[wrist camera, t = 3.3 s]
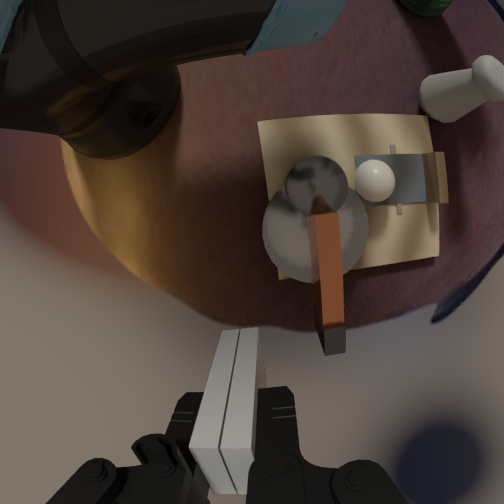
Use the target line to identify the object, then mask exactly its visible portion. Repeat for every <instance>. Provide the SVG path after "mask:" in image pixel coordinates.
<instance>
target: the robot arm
mask: <svg viewBox="0 0 504 504" xmlns="http://www.w3.org/2000/svg"><path fill="white" fill-rule="evenodd" d="M345 2H346V0H0V128H4V129H13V130H23V131H31V132H39V133H46V134H53V135H58V136H59V137H60V138H62V139H63V140H64V141H66V142H67V143H68V144H69V145H70V146H71V147H72V148H73V149H74V150H76V151H77V152H78V153H80V154H82V155H85V156H88V157H91V158H98V159H118V158H122V157H125V156H128V155H131V154H133V153H135V152H137V151H138V150H140V149H142V148H143V147H145V146H146V145H147V144H148V143H150V142H151V141H152V140H153V139H154V138H155V137H156V136H157V135H158V134H159V133H160V131H161V130H162V129H163V128H164V126H165V125H166V123H167V122H168V120H169V118H170V117H171V115H172V113H173V111H174V108H175V106H176V103H177V99H178V95H179V87H180V79H179V72H178V68H177V65H180V64H184V63H188V62H193V61H198V60H204V59H209V58H215V57H222V56H228V55H236V54H242V55H244V56H246V55H252V54H254V53H256V52H257V51H263V50H269V49H276V48H285V47H297V46H304V45H307V44H310V43H313V42H315V41H316V40H318V39H320V38H321V37H322V36H323V35H324V34H325V33H327V32H328V30H329V29H330V27H331V26H332V24H334V22H335V21H336V20H337V18H338V17H339V15H340V13H341V11H342V9H343V7H344V4H345ZM131 449H132V450H133V451H134V453H135V455H136V456H137V458H138V459H139V461H140V462H141V464H142V465H138V466H130V467H116V466H115V465H114V464H113V463H112V462H110V461H109V460H107V459H103V458H94V459H91V460H88V461H87V462H86V463H84V464H83V465H82V466H81V467H80V468H79V469H78V470H77V471H76V472H75V473H74V474H73V475H72V476H71V477H70V479H69V480H68V481H67V482H66V483H65V484H64V485H63V486H62V487H61V488H60V489H59V490H58V491H57V492H56V493H55V495H53V497H52V498H51V499H50V500H49V501H48V502H47V503H46V504H210V501H209V500H208V498H207V496H208V491H209V487H210V489H211V490H212V492H213V494H237V491H238V493H239V494H247V495H246V504H409V503H408V501H407V500H406V499H405V497H404V496H403V495H402V493H401V492H400V491H399V489H398V488H397V486H396V485H395V484H394V482H393V481H392V480H391V478H390V477H389V475H388V474H387V473H386V471H385V470H384V469H383V468H382V467H381V466H380V465H379V464H378V463H376V462H373V461H370V460H355V461H351V462H348V463H346V464H345V465H343V466H341V467H340V468H339V469H336V468H325V467H319V466H315V465H313V464H311V463H309V462H308V461H306V460H305V459H304V458H303V456H302V455H301V452H300V448H299V439H298V429H297V419H296V410H295V402H294V394H293V393H292V392H291V391H290V389H289V388H288V387H287V386H281V387H271V388H266V374H265V368H264V361H263V355H262V348H261V342H260V335H259V329H258V327H253V328H243V329H241V330H239V329H233V330H222V333H221V337H220V340H219V343H218V346H217V350H216V353H215V357H214V360H213V364H212V367H211V370H210V374H209V377H208V381H207V384H206V388H205V391H204V392H187V393H185V394H184V395H183V396H182V397H181V398H180V399H179V400H178V402H177V405H176V407H175V410H174V413H173V415H172V418H171V421H170V423H169V426H168V428H167V431H166V433H165V435H164V434H149V435H146V436H143V437H141V438H140V439H138V440H137V441H135V443H134V444H133V445H132V447H131Z"/></svg>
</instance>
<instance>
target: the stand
mask: <svg viewBox="0 0 504 504" xmlns="http://www.w3.org/2000/svg"><path fill="white" fill-rule="evenodd" d="M258 129H259V136H260V142H261V149H262V156H263V163H264V169H265V176H266V183H267V191H268V198H269V201H270V199H271V198H272V197H273V195H274V194H275V193H276V192H277V191H278V190H279V189H280V188H281V187H282V186H283V181H284V177H285V175H286V173H287V171H288V170H289V169H290V168H291V167H292V166H293V165H295V164H296V163H297V162H299V161H300V160H302V159H304V158H306V157H309V156H316V155H319V156H325V157H328V158H330V159H332V160H334V161H335V162H336V163H338V164H339V165H340V167H341V168H342V169H343V171H344V172H345V175H346V177H347V181H348V186H349V187H350V188H351V189H352V190H353V191H354V192H355V193H356V194H357V195H358V196H359V198H360V199H361V201H362V203H363V205H364V207H365V209H366V212H367V216H368V222H369V234H368V240H367V244H366V247H365V249H364V252H363V254H362V256H361V257H360V259H359V260H358V262H357V263H356V264H355V265H354V266H353V267H352V268H351V269H350V270H354V269H360V268H367V267H374V266H380V265H386V264H393V263H399V262H405V261H411V260H417V259H423V258H429V257H434V256H439V210H438V203H449V201H448V186H447V175H446V165H445V157H444V152H433V147H432V140H431V134H430V129H429V123H428V118H427V116H422V115H403V114H340V115H320V116H306V117H294V118H284V119H275V120H267V121H259V122H258ZM368 160H379V161H382V162H384V163H386V164H387V165H388V166H389V167H390V168H391V170H392V171H393V173H394V176H395V187H394V190H393V192H392V194H391V195H390V196H389V197H388V198H387V199H385V200H383V201H380V202H371V201H368V200H366V199H364V198H363V197H362V196H361V195H360V194H359V193H358V192H357V190H356V187H355V184H354V176H355V172H356V170H357V168H358V167H359V166H360V165H361V164H362V163H363V162H365V161H368ZM278 275H279V280H281V279H289V278H291V277H289V276H288V275H286V274H285V273H283V272H282V271H281V270H280V269H278Z"/></svg>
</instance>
